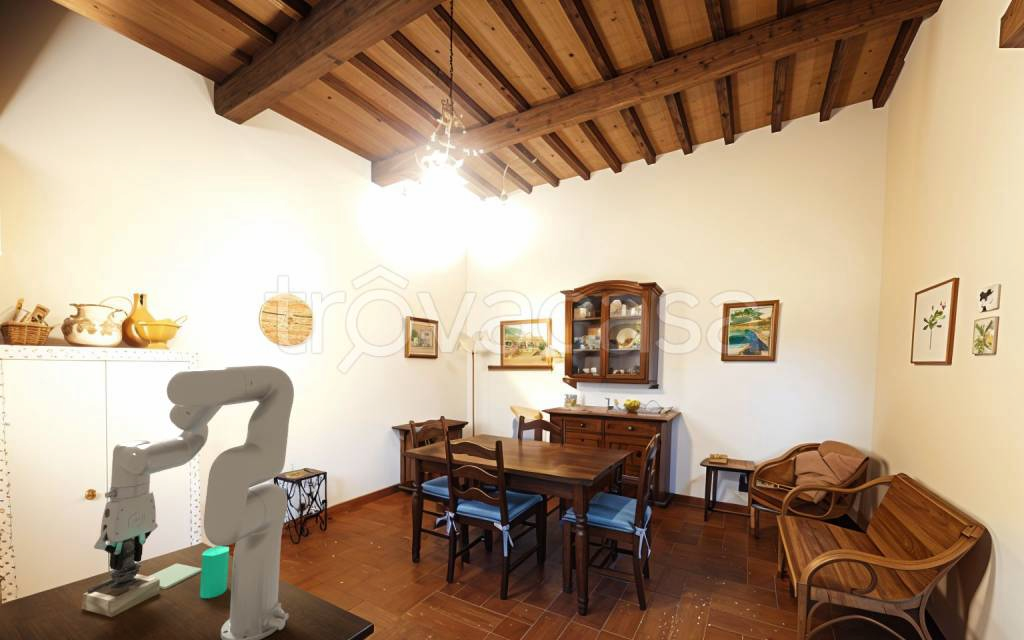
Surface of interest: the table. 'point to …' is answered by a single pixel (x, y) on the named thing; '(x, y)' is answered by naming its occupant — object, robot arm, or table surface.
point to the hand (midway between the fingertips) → (126, 564)
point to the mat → (174, 574)
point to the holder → (109, 605)
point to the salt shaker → (126, 567)
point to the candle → (214, 572)
